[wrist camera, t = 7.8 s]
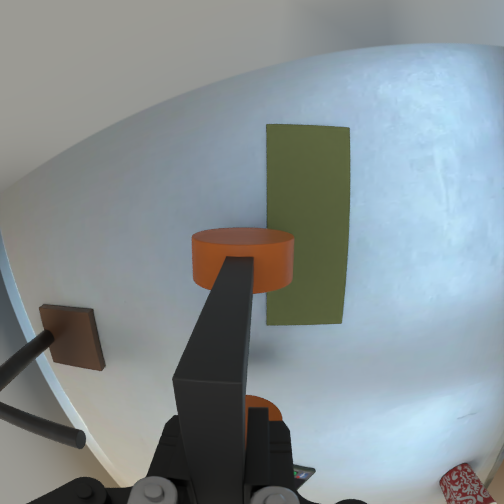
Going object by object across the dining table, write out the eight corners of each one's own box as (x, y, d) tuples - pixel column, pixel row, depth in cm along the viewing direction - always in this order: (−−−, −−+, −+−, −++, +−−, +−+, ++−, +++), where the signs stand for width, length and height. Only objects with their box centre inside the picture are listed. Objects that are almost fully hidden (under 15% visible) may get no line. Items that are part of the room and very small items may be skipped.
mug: (440, 471, 39) (464, 518, 26) (476, 453, 39) (503, 496, 26) (427, 499, 42) (445, 541, 29) (461, 484, 41) (481, 522, 28)
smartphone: (315, 468, 38) (316, 474, 37) (270, 509, 41) (270, 514, 40) (267, 458, 37) (267, 464, 36) (228, 500, 40) (228, 505, 39)
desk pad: (266, 124, 28) (266, 124, 27) (348, 128, 28) (349, 127, 27) (266, 323, 32) (266, 325, 32) (340, 322, 32) (341, 323, 32)
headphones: (211, 414, 25) (179, 574, 9) (201, 226, 21) (68, 339, 6) (278, 416, 25) (287, 581, 9) (289, 228, 21) (364, 354, 5)
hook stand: (138, 312, 32) (58, 407, 16) (148, 371, 34) (93, 476, 17) (41, 303, 33) (-48, 365, 16) (55, 357, 34) (-16, 430, 18)
